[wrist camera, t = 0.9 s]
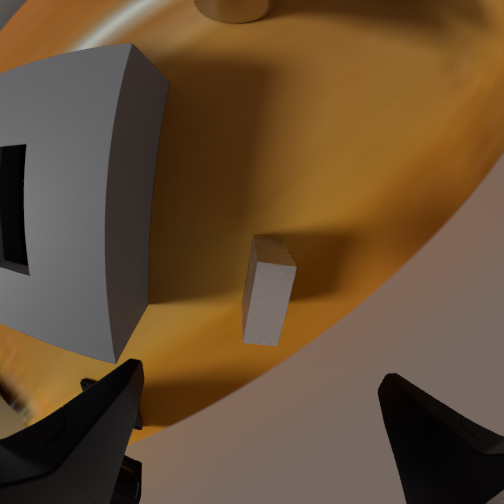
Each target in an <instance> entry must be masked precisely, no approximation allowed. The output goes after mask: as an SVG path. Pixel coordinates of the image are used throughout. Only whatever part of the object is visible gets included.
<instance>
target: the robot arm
mask: <svg viewBox="0 0 504 504" xmlns="http://www.w3.org/2000/svg"><path fill="white" fill-rule="evenodd" d="M80 384H81V387H82V390H83V392H82V393H81V394H79V395H78V396H76V397H75V398H73V399H72V400H71V401H69V402H68V403H66V404H65V405H63V407H60V408H59V409H57V410H56V411H55V412H53V413H51V414H50V415H48V416H47V417H45V418H44V419H42V420H40V421H38V422H36V423H35V424H33V425H31V426H29V427H27V428H25V429H23V430H21V431H19V432H17V433H15V434H13V435H11V436H9V437H6V438H3V439H0V504H139V501H140V498H141V477H142V463H141V462H139V461H137V460H134V459H131V458H129V457H128V456H126V455H124V454H125V451H126V447H127V445H128V442H129V438H130V435H131V433H132V430H133V429H137V430H142V428H143V424H142V420H141V415H140V410H139V403H140V398H141V393H142V389H143V384H144V372H143V364H142V361H140V360H137V359H132V358H131V359H128V360H127V361H126V362H124V363H123V364H121V365H120V366H119V367H117V368H116V369H114V370H113V371H112V372H110V373H109V374H107V375H106V376H105V377H103V378H102V379H100V380H99V381H98V382H96V383H94V382H91V381H88V380H85V379H82V380H81V382H80ZM378 397H379V401H380V406H381V411H382V415H383V420H384V424H385V428H386V431H387V435H388V438H389V441H390V444H391V447H392V451H393V454H394V458H395V461H396V465H397V468H398V472H399V476H400V480H401V483H402V487H403V491H404V495H405V499H406V503H407V504H504V436H501V435H498V434H496V433H494V432H492V431H490V430H488V429H486V428H484V427H482V426H480V425H478V424H476V423H474V422H473V421H471V420H469V419H467V418H466V417H464V416H463V415H461V414H458V412H456V411H454V410H453V409H451V408H450V407H448V406H447V405H445V404H443V403H442V402H440V401H439V400H437V399H435V398H434V397H432V396H431V395H429V394H428V393H426V392H425V391H423V390H421V389H420V388H418V387H417V386H415V385H414V384H412V383H410V382H409V381H407V380H406V379H404V378H403V377H401V376H400V375H398V374H397V373H390V374H387V375H386V376H385V377H384V379H383V381H382V383H381V384H380V386H379V388H378Z"/></svg>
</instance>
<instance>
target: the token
mask: <svg viewBox="0 0 504 504" xmlns="http://www.w3.org/2000/svg"><path fill="white" fill-rule="evenodd" d="M296 269H297V266H296V264H295V262H294V260H293V258H292V256H291V254H290V253H289V251H288V249H287V247H286V245H285V243H284V241H283V239H276V238H270V237H263V236H256V235H253V239H252V245H251V251H250V257H249V263H248V269H247V275H246V281H245V287H244V293H243V299H242V325H243V343H249V344H259V345H271V346H277V345H278V341H279V337H280V334H281V330H282V326H283V322H284V318H285V314H286V310H287V306H288V302H289V298H290V294H291V290H292V286H293V282H294V277H295V273H296Z"/></svg>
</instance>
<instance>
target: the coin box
mask: <svg viewBox="0 0 504 504" xmlns="http://www.w3.org/2000/svg"><path fill="white" fill-rule="evenodd" d="M169 84H170V82H169V81H168V80H167V79H166V77H165V76H164V75H163V74H162V73H161V72H160V71H159V70H158V69H157V68H156V67H155V66H154V65H153V64H152V63H151V62H150V61H149V60H148V59H147V58H146V57H145V56H144V55H143V54H142V53H141V52H140V51H139V50H138V49H137V48H136V47H135V46H134V45H133V44H132V43H129V44H119V45H111V46H103V47H97V48H91V49H85V50H80V51H75V52H70V53H65V54H61V55H57V56H53V57H49V58H46V59H42V60H38V61H35V62H32V63H29V64H26V65H23V66H20V67H17V68H14V69H11V70H9V71H6V72H3V73H1V74H0V323H2V324H4V325H6V326H8V327H10V328H13V329H15V330H17V331H19V332H22V333H24V334H26V335H29V336H31V337H34V338H36V339H39V340H41V341H44V342H46V343H49V344H52V345H55V346H57V347H60V348H63V349H66V350H69V351H72V352H75V353H78V354H81V355H84V356H88V357H91V358H94V359H98V360H101V361H105V362H108V363H112V364H116V363H117V361H118V359H119V357H120V355H121V353H122V352H123V350H124V348H125V346H126V344H127V342H128V340H129V339H130V337H131V335H132V333H133V331H134V329H135V328H136V326H137V324H138V322H139V320H140V319H141V317H142V315H143V313H144V312H145V310H146V308H147V306H148V260H149V236H150V219H151V206H152V195H153V185H154V175H155V167H156V159H157V152H158V145H159V138H160V131H161V125H162V120H163V114H164V108H165V103H166V98H167V93H168V88H169ZM25 144H27V146H26V157H25V173H24V222H25V237H26V248H27V258H28V265H29V267H28V266H25V265H23V257H22V248H21V238H20V223H19V169H20V154H21V145H25Z"/></svg>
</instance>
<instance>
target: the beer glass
mask: <svg viewBox="0 0 504 504" xmlns="http://www.w3.org/2000/svg"><path fill="white" fill-rule="evenodd" d="M278 2H279V0H194V3H195V6H196V7H197V9H198V10H199V11H200V12H201V13H202V14H203V15H205V16H206V17H208V18H210V19H213V20H216V21H219V22H224V23H246V22H251V21H255V20H258V19H260V18H262V17H264V16H266V15H268V14H269V13H270V12H272V11H273V10H274V9H275V7H276V6H277V4H278Z"/></svg>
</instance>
